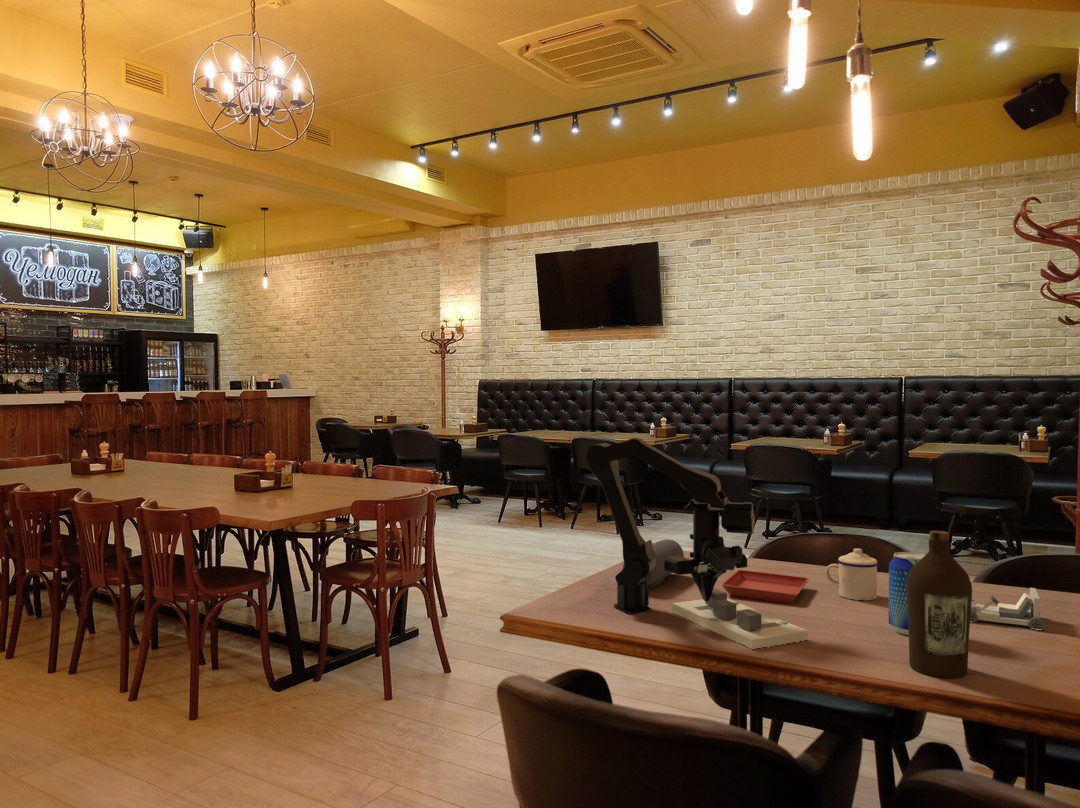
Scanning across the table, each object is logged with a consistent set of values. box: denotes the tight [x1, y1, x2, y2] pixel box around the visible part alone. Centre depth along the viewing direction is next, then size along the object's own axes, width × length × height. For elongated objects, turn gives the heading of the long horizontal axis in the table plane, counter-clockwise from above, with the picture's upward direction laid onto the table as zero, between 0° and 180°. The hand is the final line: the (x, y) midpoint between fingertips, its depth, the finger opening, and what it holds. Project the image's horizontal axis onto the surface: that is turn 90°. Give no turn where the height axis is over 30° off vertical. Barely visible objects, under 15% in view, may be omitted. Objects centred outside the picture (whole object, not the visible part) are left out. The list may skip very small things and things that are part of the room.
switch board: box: [671, 598, 809, 650], centre depth 167 cm, size 14×28×2 cm, turn 24°
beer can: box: [888, 551, 926, 636], centre depth 163 cm, size 8×8×16 cm
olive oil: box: [906, 530, 973, 679], centre depth 141 cm, size 11×11×25 cm
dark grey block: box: [737, 609, 761, 631], centre depth 159 cm, size 3×4×3 cm
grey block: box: [705, 588, 728, 607], centre depth 175 cm, size 3×4×3 cm
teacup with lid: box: [825, 548, 879, 602], centre depth 191 cm, size 12×9×12 cm
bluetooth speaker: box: [622, 539, 685, 588], centre depth 204 cm, size 23×9×10 cm, turn 150°
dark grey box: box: [713, 599, 736, 620], centre depth 166 cm, size 3×4×3 cm
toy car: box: [970, 579, 1046, 631], centre depth 172 cm, size 18×10×12 cm
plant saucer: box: [721, 569, 810, 604], centre depth 195 cm, size 18×18×3 cm
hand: (706, 600), depth 174 cm, fingers closed
